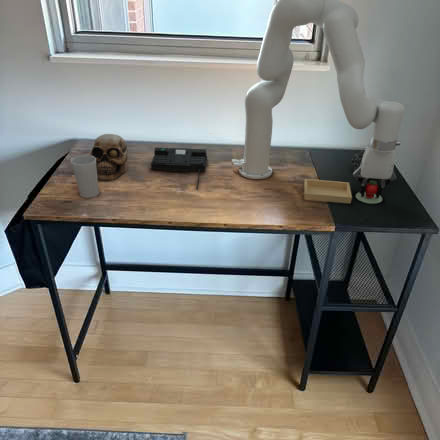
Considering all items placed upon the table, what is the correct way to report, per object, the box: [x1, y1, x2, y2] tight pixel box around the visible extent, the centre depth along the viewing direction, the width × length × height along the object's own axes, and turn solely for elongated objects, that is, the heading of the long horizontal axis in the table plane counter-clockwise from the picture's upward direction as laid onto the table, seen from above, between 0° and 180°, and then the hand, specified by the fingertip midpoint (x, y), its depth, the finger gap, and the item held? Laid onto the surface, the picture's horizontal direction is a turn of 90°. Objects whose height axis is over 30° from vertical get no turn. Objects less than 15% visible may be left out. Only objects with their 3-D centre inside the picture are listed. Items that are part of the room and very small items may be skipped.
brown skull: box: [90, 133, 129, 182], centre depth 166 cm, size 16×17×13 cm
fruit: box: [351, 149, 370, 180], centre depth 167 cm, size 9×8×15 cm
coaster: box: [355, 191, 383, 204], centre depth 155 cm, size 9×9×1 cm
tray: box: [303, 178, 353, 204], centre depth 155 cm, size 16×12×3 cm
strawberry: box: [365, 179, 378, 198], centre depth 152 cm, size 4×4×5 cm
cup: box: [70, 154, 100, 199], centre depth 149 cm, size 8×8×12 cm
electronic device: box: [150, 147, 208, 190], centre depth 168 cm, size 21×30×5 cm
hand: (369, 195), depth 154 cm, fingers closed on strawberry, 4 cm apart
